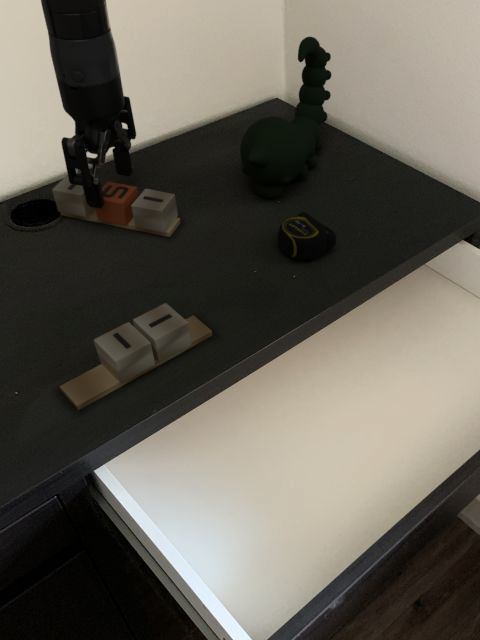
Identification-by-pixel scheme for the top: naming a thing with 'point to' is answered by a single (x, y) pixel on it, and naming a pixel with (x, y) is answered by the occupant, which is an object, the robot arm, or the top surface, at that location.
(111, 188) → the orange block
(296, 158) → the toy figurine
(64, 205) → the word
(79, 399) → the word
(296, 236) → the tape measure
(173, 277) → the top surface
